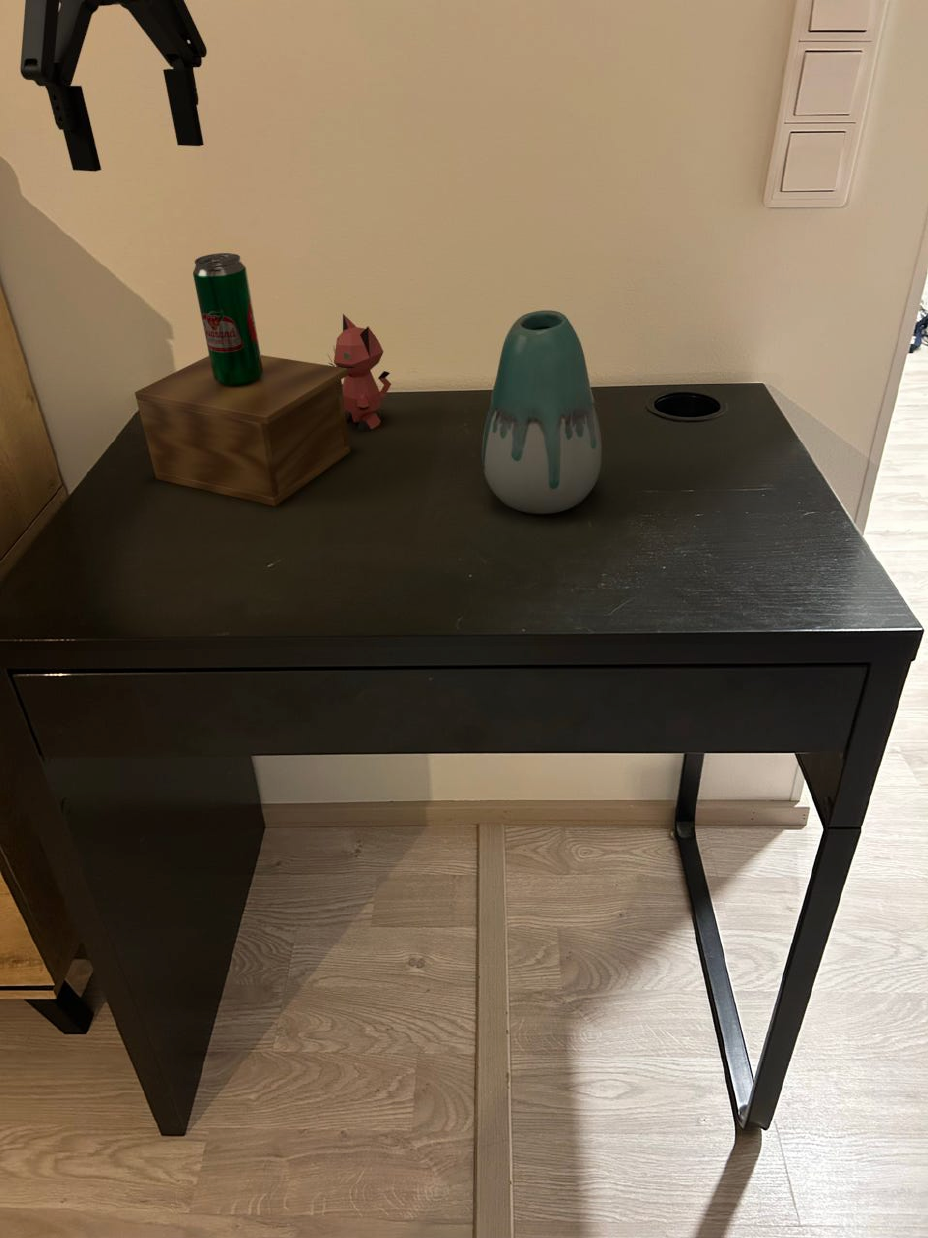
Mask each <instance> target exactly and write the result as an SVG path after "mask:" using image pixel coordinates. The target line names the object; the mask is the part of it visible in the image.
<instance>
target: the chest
mask: <svg viewBox="0 0 928 1238" xmlns="http://www.w3.org/2000/svg"><path fill="white" fill-rule="evenodd" d="M342 384H343V381H342V379H341V380H340V381H338V382H336V383H335V384H333V385H332V386H330V387H328V388H327V389H325V390H323V391H322V392H320V393H319V394H317V395H315V396H314V397H312V398H310V399H309V400H307V401H306V402H304V403H302V404H301V405H299V406H297V407H296V408H294V409H293V410H291V411H289V412H288V413H286V414H284V415H283V416H281V417H280V418H278V419H276V420H275V421H273V422H271V423H270V424H263V423H257V422H252V421H247V420H242V419H236V418H231V417H226V416H221V415H215V414H210V413H205V412H200V411H194V410H189V409H184V408H179V407H173V406H168V405H163V404H157V403H152V402H147V401H142V400H137V399H136V404H137V407H138V411H139V416H140V420H141V423H142V427H143V431H144V435H145V439H146V443H147V447H148V452H149V455H150V459H151V463H152V467H153V471H154V476H155V479H156V480H158V481H162V482H167V483H170V484H176V485H180V486H185V487H188V488H193V489H198V490H202V491H206V492H211V493H215V494H219V495H225V496H228V497H231V498H232V497H233V498H237V499H241V500H246V501H251V502H254V503H259V504H263V505H268V506H273V507H276V506H278V505H279V504H280V503H282V502H283V501H285V500H286V499H288V498H289V497H290V496H291V495H293V494H294V493H296V492H297V491H299V490H300V489H301V488H302V487H304V486H305V485H307V484H308V483H309V482H311V481H312V480H314V479H315V478H316V477H318V476H320V475H321V474H322V473H324V472H325V471H326V470H327V469H329V468H330V467H332V466H333V465H334V464H336V463H338V461H340V460H341V459H343V458H345V457H346V456H347V455H348V454H350V453H351V447H350V441H349V439H350V438H349V432H348V431H349V430H348V422H346V416H347V415H346V414H347V413H346V410H345V406H344V397H343V389H342Z"/></svg>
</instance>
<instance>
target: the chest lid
mask: <svg viewBox="0 0 928 1238" xmlns="http://www.w3.org/2000/svg"><path fill="white" fill-rule="evenodd" d="M260 355H261V361H262V367H263V373H262V375H261V377H260V378H259V379H258V380H257V381H255V382H254V383H251V384H248V385H244V386H225V385H222V384H220V383H219V382H217V381H216V380H215V379H214V377H213V372H212V367H211V362H210V357H209V355H207V356H205V357H203V358H201V359H199V360H197V361H195V362H193V363H191V364H189V365H187V366H185V367H183V368H181V369H179V370H177V371H175V372H172V373H171V374H169V375H167V376H165V377H163V378H161V379H159V380H157V381H154V382H153V383H150V384H149V385H146V386H144V387H143V388H141V389H138V390H136V391H134V395H135V399H136V401H137V400H142V401H147V402H152V403H157V404H163V405H168V406H173V407H179V408H184V409H189V410H194V411H200V412H205V413H210V414H215V415H221V416H226V417H231V418H236V419H242V420H247V421H252V422H257V423H263V424H270V423H271V422H273V421H275V420H276V419H278V418H280V417H281V416H283V415H284V414H286V413H288V412H289V411H291V410H293V409H294V408H296V407H297V406H299V405H301V404H302V403H304V402H306V401H307V400H309V399H310V398H312V397H314V396H315V395H317V394H319V393H320V392H322V391H323V390H325V389H327V388H328V387H330V386H332V385H333V384H335V383H336V382H338V381H340V380H341V381H342V380H344V378H345V377H346V376H348V371H347V368H342V367H336V365H334V366H332V365H330V364H320V363H317V362H308V361H303V360H297V359H289V358H283V357H276V356H270V355H263V354H260Z"/></svg>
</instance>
